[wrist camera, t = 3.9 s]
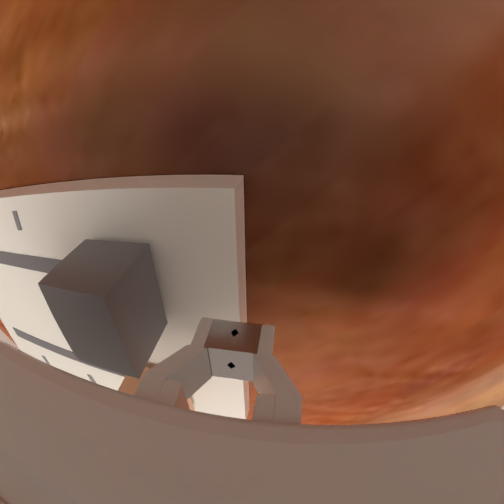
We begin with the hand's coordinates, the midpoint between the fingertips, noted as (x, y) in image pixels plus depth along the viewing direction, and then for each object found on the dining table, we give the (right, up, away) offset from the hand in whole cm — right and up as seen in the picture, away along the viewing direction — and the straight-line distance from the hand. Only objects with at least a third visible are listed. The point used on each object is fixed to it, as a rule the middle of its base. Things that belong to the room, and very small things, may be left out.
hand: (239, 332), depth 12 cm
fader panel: (-14, -1, +8) cm, 16 cm away
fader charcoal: (-6, +2, +3) cm, 7 cm away
